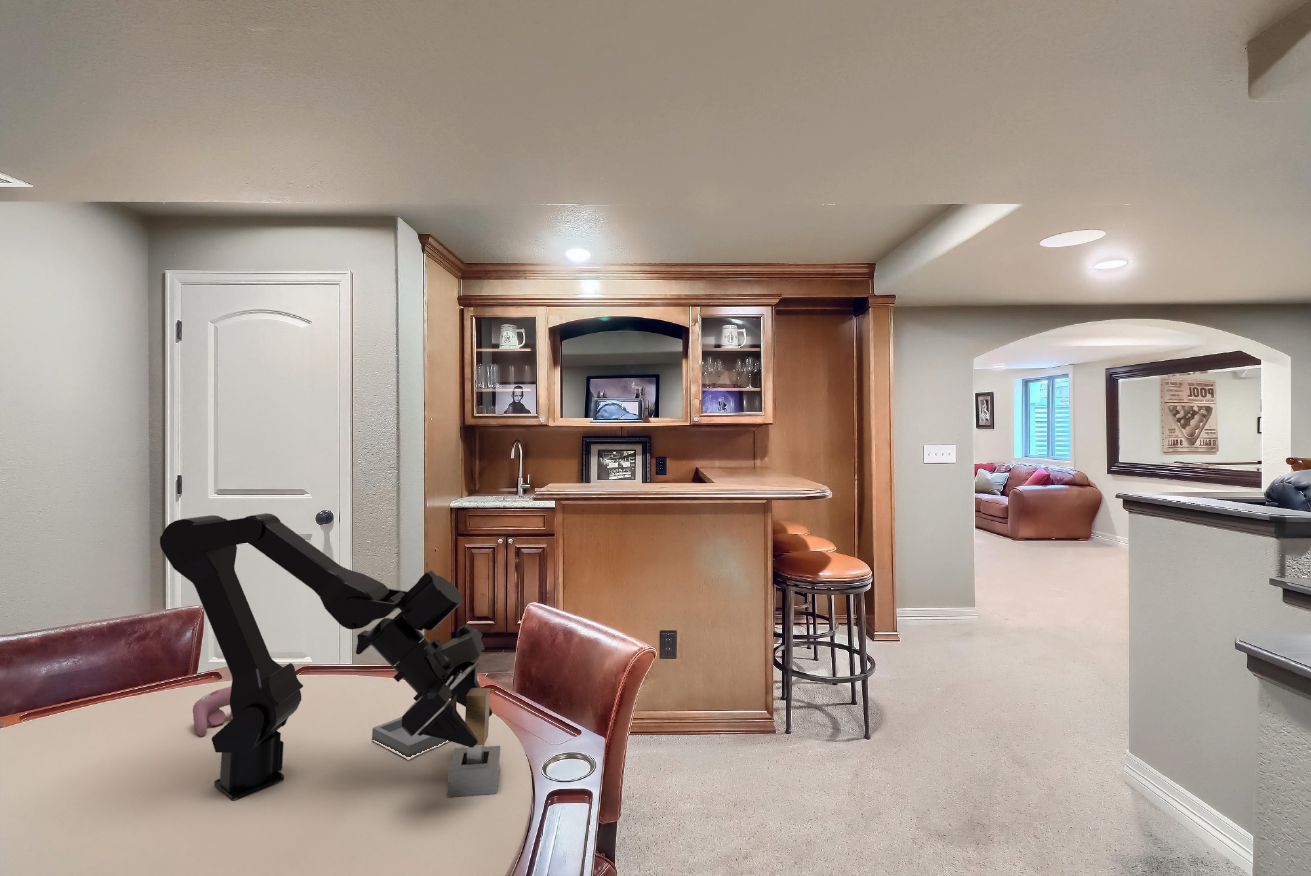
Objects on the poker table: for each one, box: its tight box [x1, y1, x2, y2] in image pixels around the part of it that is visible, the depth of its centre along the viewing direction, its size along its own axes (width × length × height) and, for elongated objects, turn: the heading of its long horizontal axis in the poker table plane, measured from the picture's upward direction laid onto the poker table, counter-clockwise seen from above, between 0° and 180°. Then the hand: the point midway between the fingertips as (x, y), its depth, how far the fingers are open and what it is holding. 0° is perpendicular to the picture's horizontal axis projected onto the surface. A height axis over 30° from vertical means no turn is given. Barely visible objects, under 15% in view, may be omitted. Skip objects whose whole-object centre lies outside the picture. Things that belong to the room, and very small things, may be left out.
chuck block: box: [446, 745, 501, 798], centre depth 85 cm, size 7×7×4 cm
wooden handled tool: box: [464, 687, 491, 765], centre depth 85 cm, size 3×3×13 cm
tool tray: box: [371, 716, 447, 757], centre depth 97 cm, size 10×10×2 cm
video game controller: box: [192, 686, 233, 737], centre depth 101 cm, size 10×5×7 cm, turn 141°
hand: (483, 729), depth 85 cm, fingers open, 9 cm apart
